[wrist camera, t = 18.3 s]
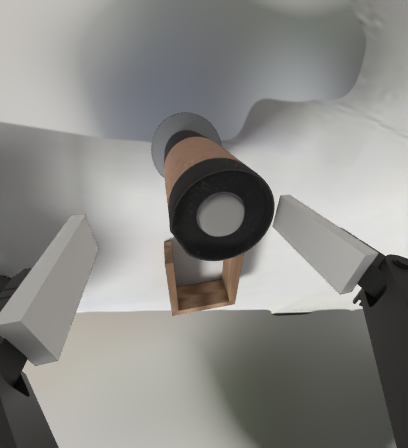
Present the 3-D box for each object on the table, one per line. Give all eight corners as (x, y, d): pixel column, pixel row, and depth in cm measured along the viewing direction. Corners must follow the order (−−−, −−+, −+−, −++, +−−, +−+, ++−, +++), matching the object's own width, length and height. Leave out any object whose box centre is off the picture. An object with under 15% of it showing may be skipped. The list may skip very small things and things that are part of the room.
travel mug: (217, 138, 29) (298, 185, 12) (201, 183, 32) (246, 267, 16) (169, 119, 26) (188, 147, 10) (157, 171, 29) (156, 256, 13)
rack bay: (170, 291, 47) (172, 315, 42) (163, 241, 38) (164, 264, 33) (226, 282, 50) (234, 304, 45) (232, 233, 41) (243, 253, 36)
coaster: (156, 187, 32) (156, 188, 31) (146, 112, 26) (146, 112, 25) (218, 183, 34) (219, 184, 33) (222, 112, 28) (223, 113, 27)
